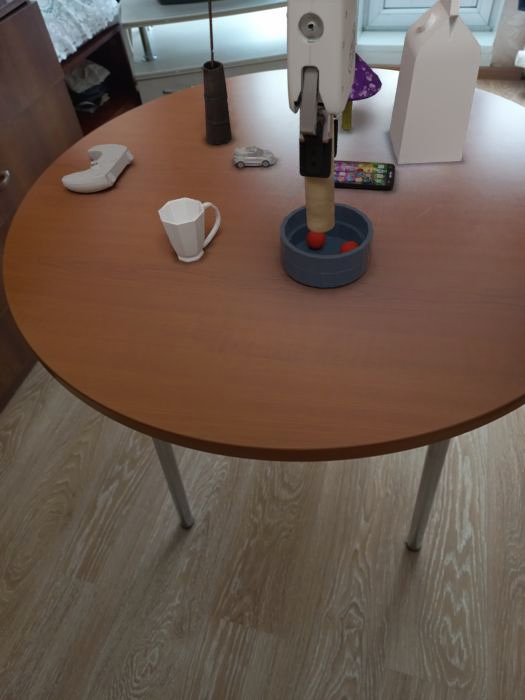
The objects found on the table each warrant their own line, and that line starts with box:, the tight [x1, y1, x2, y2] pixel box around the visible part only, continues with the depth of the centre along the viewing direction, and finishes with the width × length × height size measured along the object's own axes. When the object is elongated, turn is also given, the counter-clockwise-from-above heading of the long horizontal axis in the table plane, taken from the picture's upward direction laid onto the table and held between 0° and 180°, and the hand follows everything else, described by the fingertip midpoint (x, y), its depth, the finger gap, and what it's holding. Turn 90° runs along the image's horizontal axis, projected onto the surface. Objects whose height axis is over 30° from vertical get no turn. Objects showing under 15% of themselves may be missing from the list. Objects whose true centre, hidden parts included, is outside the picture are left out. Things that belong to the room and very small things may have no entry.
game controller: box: [61, 143, 135, 194], centre depth 98 cm, size 14×4×10 cm
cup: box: [157, 197, 222, 263], centre depth 80 cm, size 7×10×8 cm
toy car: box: [233, 145, 276, 169], centre depth 98 cm, size 4×8×3 cm, turn 88°
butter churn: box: [200, 0, 233, 146], centre depth 95 cm, size 9×10×28 cm
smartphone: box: [334, 159, 396, 191], centre depth 93 cm, size 8×1×15 cm
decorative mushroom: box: [341, 51, 383, 131], centre depth 100 cm, size 12×12×15 cm
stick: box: [304, 113, 336, 233], centre depth 55 cm, size 3×3×13 cm
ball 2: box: [340, 241, 359, 254], centre depth 77 cm, size 3×3×3 cm
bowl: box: [279, 202, 375, 289], centre depth 77 cm, size 13×13×6 cm
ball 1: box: [306, 231, 326, 249], centre depth 79 cm, size 3×3×3 cm
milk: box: [388, 0, 482, 165], centre depth 90 cm, size 12×12×26 cm
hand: (318, 164), depth 54 cm, fingers closed on stick, 3 cm apart
